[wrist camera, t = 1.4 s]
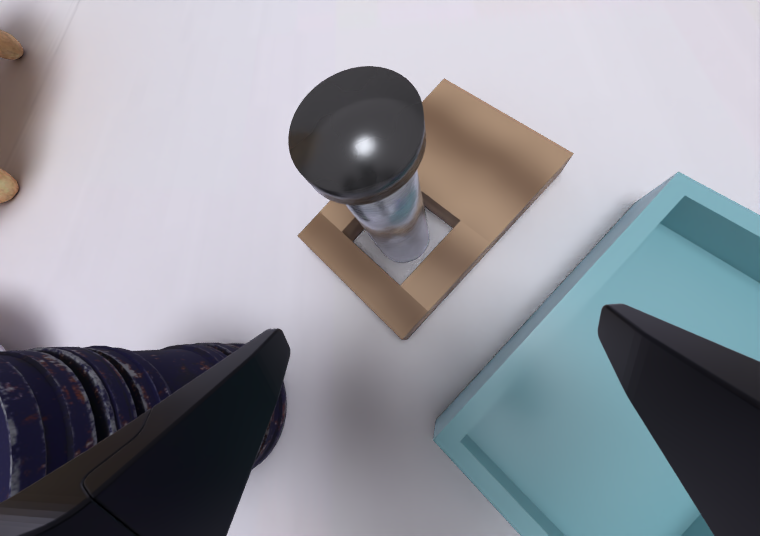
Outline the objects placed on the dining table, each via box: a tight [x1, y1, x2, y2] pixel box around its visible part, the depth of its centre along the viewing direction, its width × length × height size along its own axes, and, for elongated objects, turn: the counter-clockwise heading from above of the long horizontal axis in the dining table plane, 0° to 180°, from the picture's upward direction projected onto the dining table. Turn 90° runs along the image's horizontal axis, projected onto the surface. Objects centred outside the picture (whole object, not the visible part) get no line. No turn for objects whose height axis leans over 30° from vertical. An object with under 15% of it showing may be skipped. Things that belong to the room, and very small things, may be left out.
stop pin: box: [289, 66, 429, 262], centre depth 17 cm, size 5×5×13 cm
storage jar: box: [0, 343, 287, 503], centre depth 16 cm, size 10×10×15 cm
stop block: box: [298, 79, 574, 340], centre depth 22 cm, size 16×11×2 cm, turn 136°
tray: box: [433, 172, 760, 536], centre depth 16 cm, size 20×13×4 cm, turn 136°
